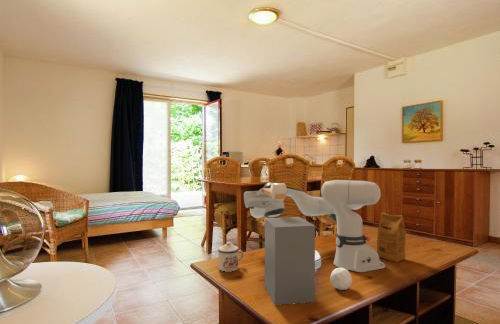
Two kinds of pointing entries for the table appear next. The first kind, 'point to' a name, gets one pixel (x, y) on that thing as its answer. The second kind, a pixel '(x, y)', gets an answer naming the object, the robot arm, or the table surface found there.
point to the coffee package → (391, 237)
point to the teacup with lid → (229, 257)
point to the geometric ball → (341, 278)
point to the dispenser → (290, 260)
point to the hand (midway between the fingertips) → (267, 190)
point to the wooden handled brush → (276, 191)
